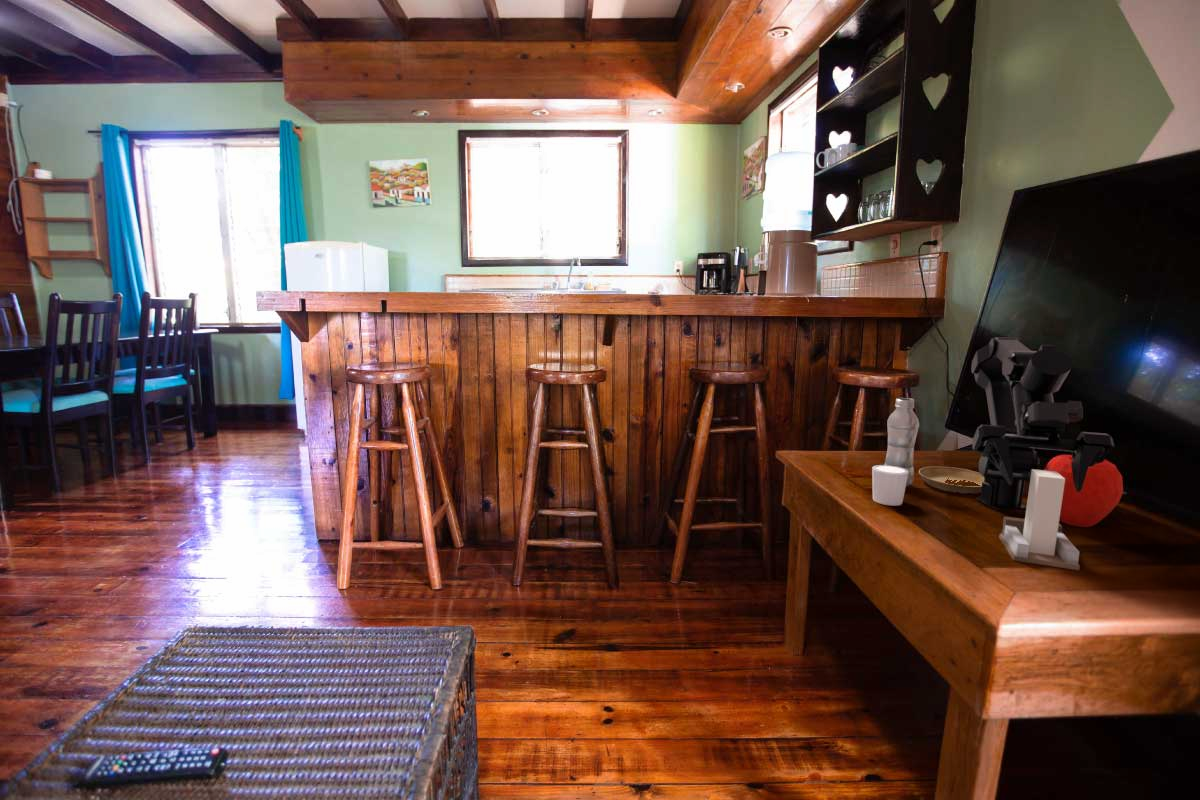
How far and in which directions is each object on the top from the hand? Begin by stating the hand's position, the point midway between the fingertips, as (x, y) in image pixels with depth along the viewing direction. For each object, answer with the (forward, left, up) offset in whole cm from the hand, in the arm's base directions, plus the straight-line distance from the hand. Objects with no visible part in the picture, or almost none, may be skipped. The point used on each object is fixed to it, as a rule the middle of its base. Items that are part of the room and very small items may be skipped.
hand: (1044, 487), depth 95 cm
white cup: (+11, -25, -12) cm, 30 cm away
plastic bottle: (+3, -35, -12) cm, 37 cm away
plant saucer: (-10, -34, -12) cm, 38 cm away
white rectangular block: (0, +1, -10) cm, 11 cm away
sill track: (0, +1, -11) cm, 11 cm away
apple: (-18, -11, -12) cm, 24 cm away
